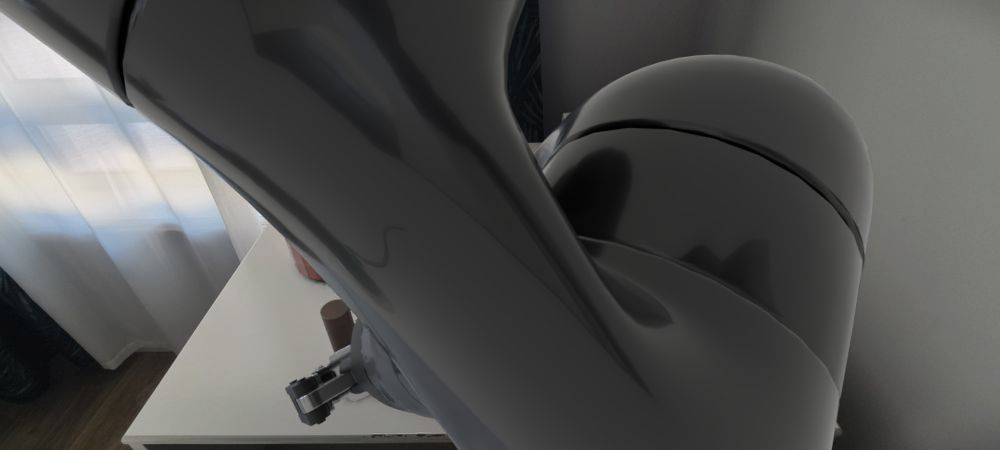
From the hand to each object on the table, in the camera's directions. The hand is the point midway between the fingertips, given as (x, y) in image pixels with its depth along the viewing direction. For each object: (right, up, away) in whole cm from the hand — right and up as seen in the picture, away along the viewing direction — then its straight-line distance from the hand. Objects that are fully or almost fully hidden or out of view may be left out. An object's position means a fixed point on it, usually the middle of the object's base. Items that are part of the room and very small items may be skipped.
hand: (378, 351), depth 39 cm
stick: (-6, -8, +17) cm, 20 cm away
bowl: (-15, +6, +36) cm, 40 cm away
